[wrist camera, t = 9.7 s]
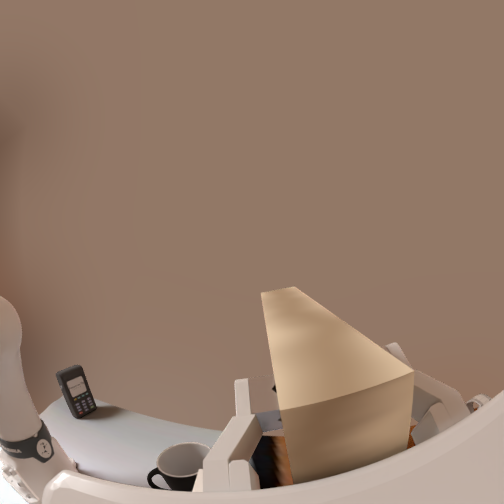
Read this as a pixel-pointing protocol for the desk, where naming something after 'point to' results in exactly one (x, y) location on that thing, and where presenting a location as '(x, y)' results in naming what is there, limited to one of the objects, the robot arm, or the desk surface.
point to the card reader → (76, 390)
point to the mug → (180, 465)
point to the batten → (333, 389)
